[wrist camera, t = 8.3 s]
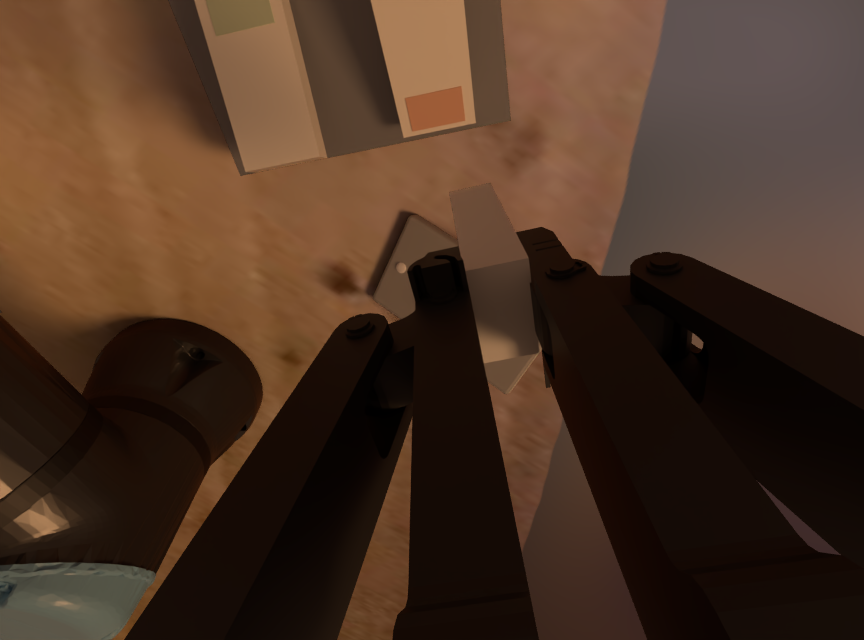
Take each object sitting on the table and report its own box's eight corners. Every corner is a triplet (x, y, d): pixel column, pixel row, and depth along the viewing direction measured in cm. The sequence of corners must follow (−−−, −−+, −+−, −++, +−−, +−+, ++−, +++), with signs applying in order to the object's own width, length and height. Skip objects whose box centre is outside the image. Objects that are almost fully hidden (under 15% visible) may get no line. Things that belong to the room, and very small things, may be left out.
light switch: (403, 214, 34) (564, 320, 31) (435, 209, 39) (575, 299, 36) (364, 301, 38) (503, 401, 35) (398, 286, 43) (522, 372, 40)
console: (264, 159, 33) (233, 180, 28) (181, -60, 27) (121, -86, 21) (499, 110, 32) (514, 123, 26) (475, -136, 25) (488, -185, 20)
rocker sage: (257, 172, 26) (245, 172, 25) (207, -1, 24) (189, -13, 22) (327, 158, 26) (319, 156, 24) (284, -19, 23) (272, -34, 22)
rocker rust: (402, 124, 27) (403, 138, 26) (359, -59, 20) (358, -49, 19) (472, 109, 27) (475, 123, 26) (452, -82, 20) (456, -73, 19)
